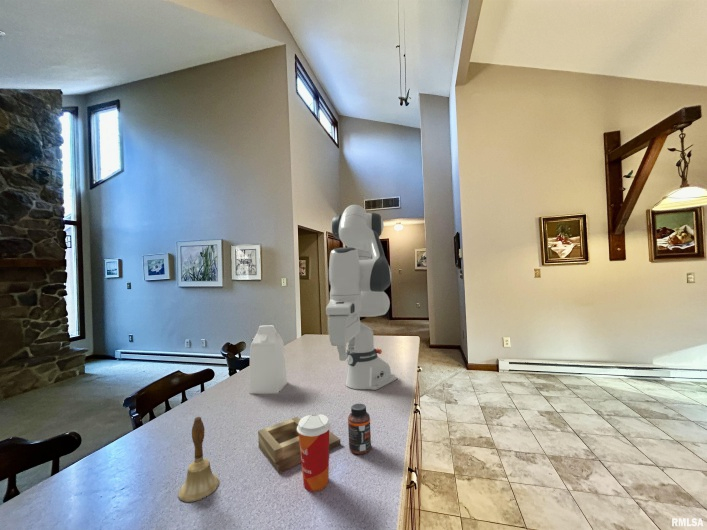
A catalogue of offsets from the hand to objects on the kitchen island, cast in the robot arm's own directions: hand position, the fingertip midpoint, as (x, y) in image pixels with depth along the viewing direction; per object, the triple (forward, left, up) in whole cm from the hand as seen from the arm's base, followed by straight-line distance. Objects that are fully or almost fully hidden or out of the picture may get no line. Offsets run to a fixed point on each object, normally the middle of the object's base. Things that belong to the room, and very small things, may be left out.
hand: (347, 355), depth 83 cm
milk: (+2, -56, -25) cm, 61 cm away
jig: (+11, -9, -25) cm, 28 cm away
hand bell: (+36, -9, -25) cm, 45 cm away
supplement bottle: (-1, +3, -25) cm, 25 cm away
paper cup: (+15, +7, -25) cm, 30 cm away
